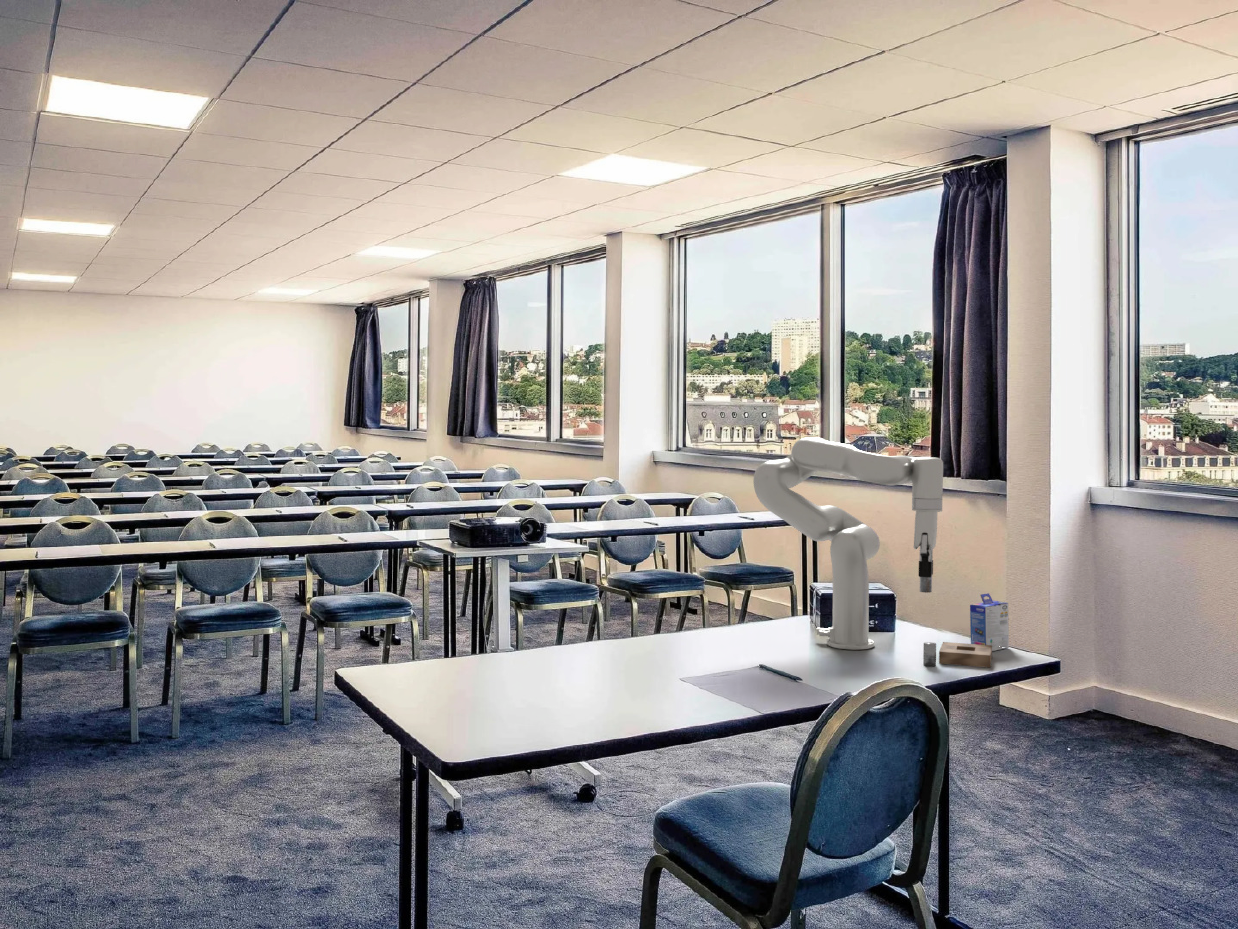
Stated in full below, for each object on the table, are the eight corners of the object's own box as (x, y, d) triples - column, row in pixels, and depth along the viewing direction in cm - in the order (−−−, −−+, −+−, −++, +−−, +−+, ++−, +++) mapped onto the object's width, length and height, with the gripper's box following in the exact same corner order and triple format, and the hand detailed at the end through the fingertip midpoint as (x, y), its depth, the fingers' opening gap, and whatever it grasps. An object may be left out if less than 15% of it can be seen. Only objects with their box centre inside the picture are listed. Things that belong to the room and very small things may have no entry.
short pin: (922, 666, 256) (923, 644, 255) (923, 663, 258) (924, 641, 258) (935, 667, 254) (935, 645, 254) (936, 664, 257) (936, 642, 257)
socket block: (939, 663, 258) (939, 651, 258) (942, 653, 270) (943, 641, 269) (990, 667, 254) (990, 655, 254) (991, 657, 265) (991, 645, 265)
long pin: (919, 592, 267) (919, 545, 266) (920, 590, 270) (921, 544, 269) (931, 593, 266) (932, 546, 265) (932, 591, 269) (933, 545, 268)
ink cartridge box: (991, 644, 280) (992, 591, 279) (1009, 648, 275) (1010, 594, 275) (968, 649, 274) (969, 595, 274) (986, 653, 270) (987, 598, 269)
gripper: (915, 502, 276) (914, 570, 277) (908, 507, 260) (907, 579, 261) (944, 503, 273) (943, 572, 274) (939, 508, 258) (938, 581, 259)
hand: (925, 575), depth 268 cm, fingers closed on long pin, 3 cm apart
